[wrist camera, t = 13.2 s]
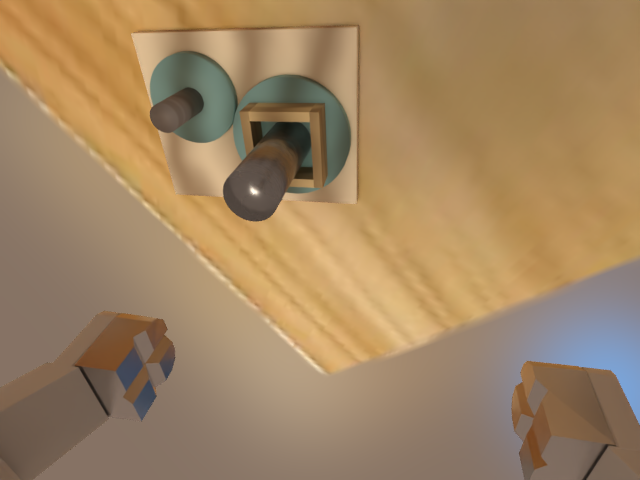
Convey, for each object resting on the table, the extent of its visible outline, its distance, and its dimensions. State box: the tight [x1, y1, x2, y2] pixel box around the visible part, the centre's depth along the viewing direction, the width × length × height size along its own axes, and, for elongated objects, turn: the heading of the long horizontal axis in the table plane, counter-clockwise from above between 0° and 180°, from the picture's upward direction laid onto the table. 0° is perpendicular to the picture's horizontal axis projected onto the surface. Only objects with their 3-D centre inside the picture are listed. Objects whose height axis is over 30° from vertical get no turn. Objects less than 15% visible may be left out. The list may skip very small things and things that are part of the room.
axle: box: [223, 122, 311, 221], centre depth 33 cm, size 4×4×11 cm
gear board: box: [131, 25, 359, 204], centre depth 37 cm, size 20×16×7 cm
